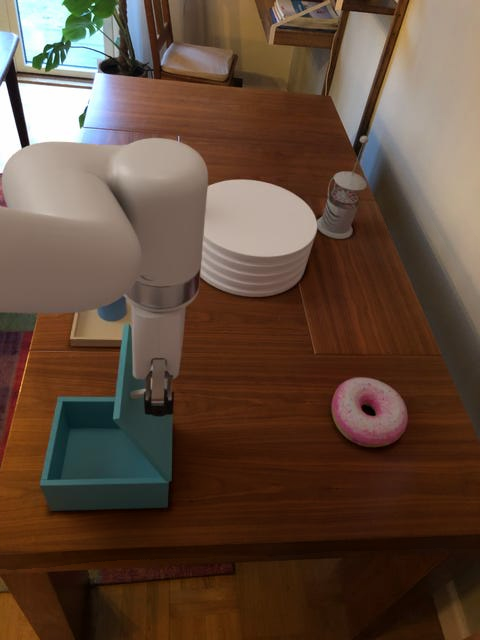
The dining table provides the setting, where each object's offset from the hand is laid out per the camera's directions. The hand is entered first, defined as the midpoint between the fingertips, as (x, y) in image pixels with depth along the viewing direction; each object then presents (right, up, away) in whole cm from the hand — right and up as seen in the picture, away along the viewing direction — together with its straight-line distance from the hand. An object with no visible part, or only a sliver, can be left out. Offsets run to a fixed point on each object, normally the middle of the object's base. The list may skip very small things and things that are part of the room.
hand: (160, 377), depth 58 cm
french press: (+34, +32, +68) cm, 82 cm away
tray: (-16, +8, +37) cm, 41 cm away
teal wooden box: (-10, -16, +16) cm, 25 cm away
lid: (-3, -4, +4) cm, 7 cm away
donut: (+32, -11, +28) cm, 44 cm away
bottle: (-16, +9, +37) cm, 41 cm away
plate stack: (+11, +22, +55) cm, 60 cm away
